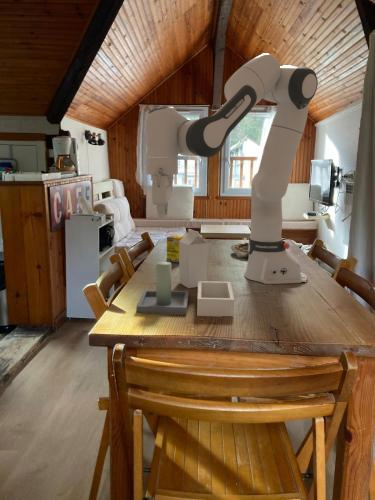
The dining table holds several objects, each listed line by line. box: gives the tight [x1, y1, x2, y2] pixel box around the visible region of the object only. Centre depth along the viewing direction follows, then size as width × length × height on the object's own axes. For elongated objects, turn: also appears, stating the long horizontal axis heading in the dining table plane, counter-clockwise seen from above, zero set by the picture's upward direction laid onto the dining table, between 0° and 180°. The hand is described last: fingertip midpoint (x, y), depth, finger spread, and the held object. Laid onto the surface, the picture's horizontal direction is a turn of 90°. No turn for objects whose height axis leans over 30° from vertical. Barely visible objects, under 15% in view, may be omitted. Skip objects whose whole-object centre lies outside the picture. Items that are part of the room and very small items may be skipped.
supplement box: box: [166, 234, 185, 265], centre depth 165 cm, size 6×6×11 cm
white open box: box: [196, 280, 235, 317], centre depth 116 cm, size 10×16×5 cm, turn 178°
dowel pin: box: [155, 261, 172, 305], centre depth 115 cm, size 4×4×12 cm
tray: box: [136, 289, 189, 315], centre depth 116 cm, size 14×14×2 cm
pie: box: [230, 242, 249, 260], centre depth 179 cm, size 28×27×5 cm
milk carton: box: [178, 228, 208, 289], centre depth 134 cm, size 7×7×19 cm
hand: (162, 217), depth 112 cm, fingers open, 8 cm apart
